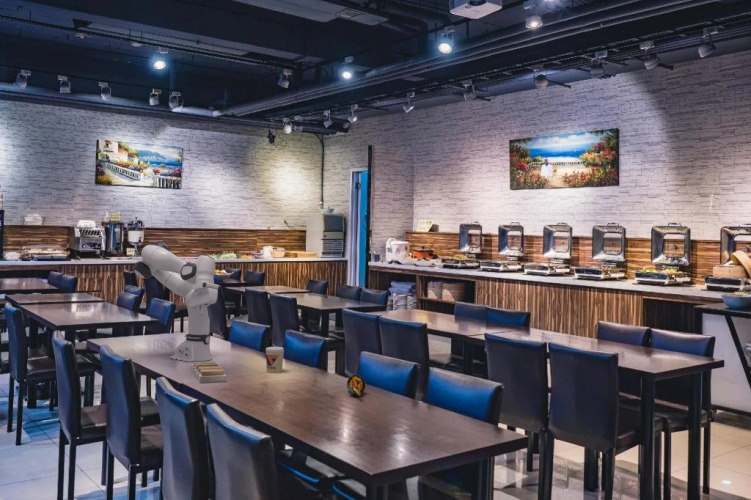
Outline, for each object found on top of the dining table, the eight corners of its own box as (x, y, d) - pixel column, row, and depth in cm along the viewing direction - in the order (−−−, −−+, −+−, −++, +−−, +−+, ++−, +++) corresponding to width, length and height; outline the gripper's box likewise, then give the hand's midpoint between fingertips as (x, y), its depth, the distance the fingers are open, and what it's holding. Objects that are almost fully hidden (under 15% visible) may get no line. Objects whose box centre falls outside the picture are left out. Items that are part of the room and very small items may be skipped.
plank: (197, 370, 331) (197, 366, 331) (218, 369, 335) (218, 365, 335) (202, 376, 319) (202, 371, 319) (223, 375, 323) (223, 370, 323)
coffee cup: (261, 372, 348) (261, 348, 348) (272, 369, 356) (272, 346, 356) (276, 374, 343) (277, 350, 343) (287, 371, 352) (287, 347, 352)
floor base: (191, 371, 343) (191, 361, 342) (215, 370, 347) (215, 360, 347) (200, 383, 318) (200, 372, 318) (226, 381, 323) (226, 371, 323)
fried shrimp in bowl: (363, 380, 314) (378, 375, 299) (356, 403, 310) (371, 399, 294) (345, 373, 312) (359, 367, 296) (338, 396, 308) (352, 392, 292)
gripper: (187, 289, 342) (184, 316, 337) (209, 282, 328) (206, 310, 323) (198, 291, 346) (196, 318, 342) (220, 285, 332) (218, 313, 328)
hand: (201, 314), depth 332 cm, fingers closed
